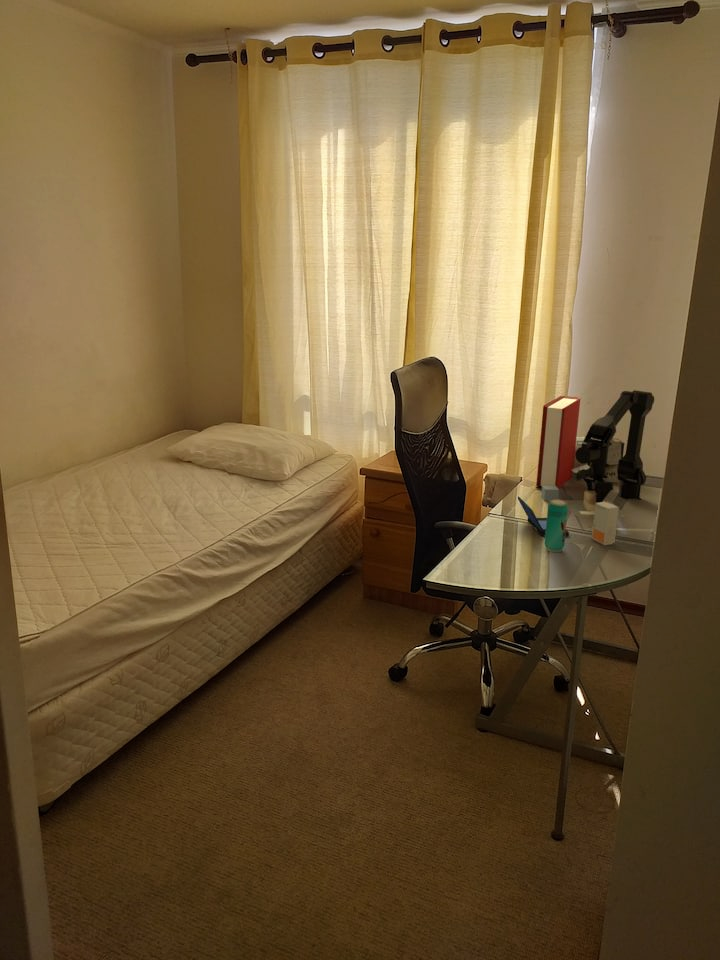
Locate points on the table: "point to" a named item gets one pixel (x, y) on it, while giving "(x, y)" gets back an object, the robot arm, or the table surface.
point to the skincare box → (605, 523)
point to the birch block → (590, 500)
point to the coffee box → (614, 459)
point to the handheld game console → (535, 519)
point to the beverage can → (556, 525)
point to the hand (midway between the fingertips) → (593, 502)
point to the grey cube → (549, 493)
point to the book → (558, 441)
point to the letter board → (580, 510)
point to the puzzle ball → (578, 444)
